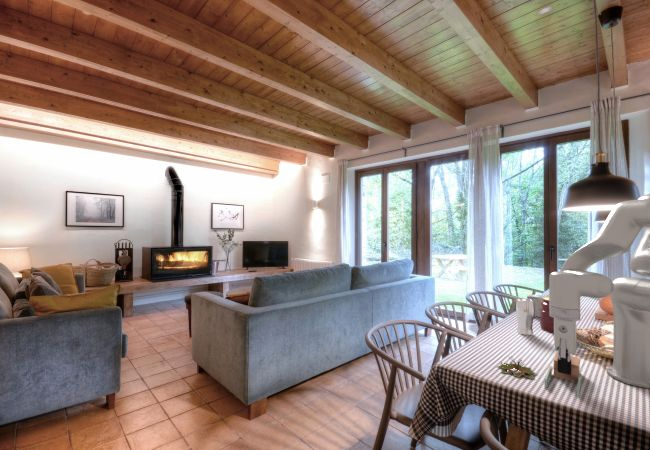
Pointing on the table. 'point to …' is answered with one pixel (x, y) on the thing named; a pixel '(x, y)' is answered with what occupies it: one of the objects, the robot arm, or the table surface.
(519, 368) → the green twiggy clump
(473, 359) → the table surface
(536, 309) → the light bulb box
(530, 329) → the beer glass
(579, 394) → the pair of grey-green bars
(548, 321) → the canister
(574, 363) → the terracotta block
